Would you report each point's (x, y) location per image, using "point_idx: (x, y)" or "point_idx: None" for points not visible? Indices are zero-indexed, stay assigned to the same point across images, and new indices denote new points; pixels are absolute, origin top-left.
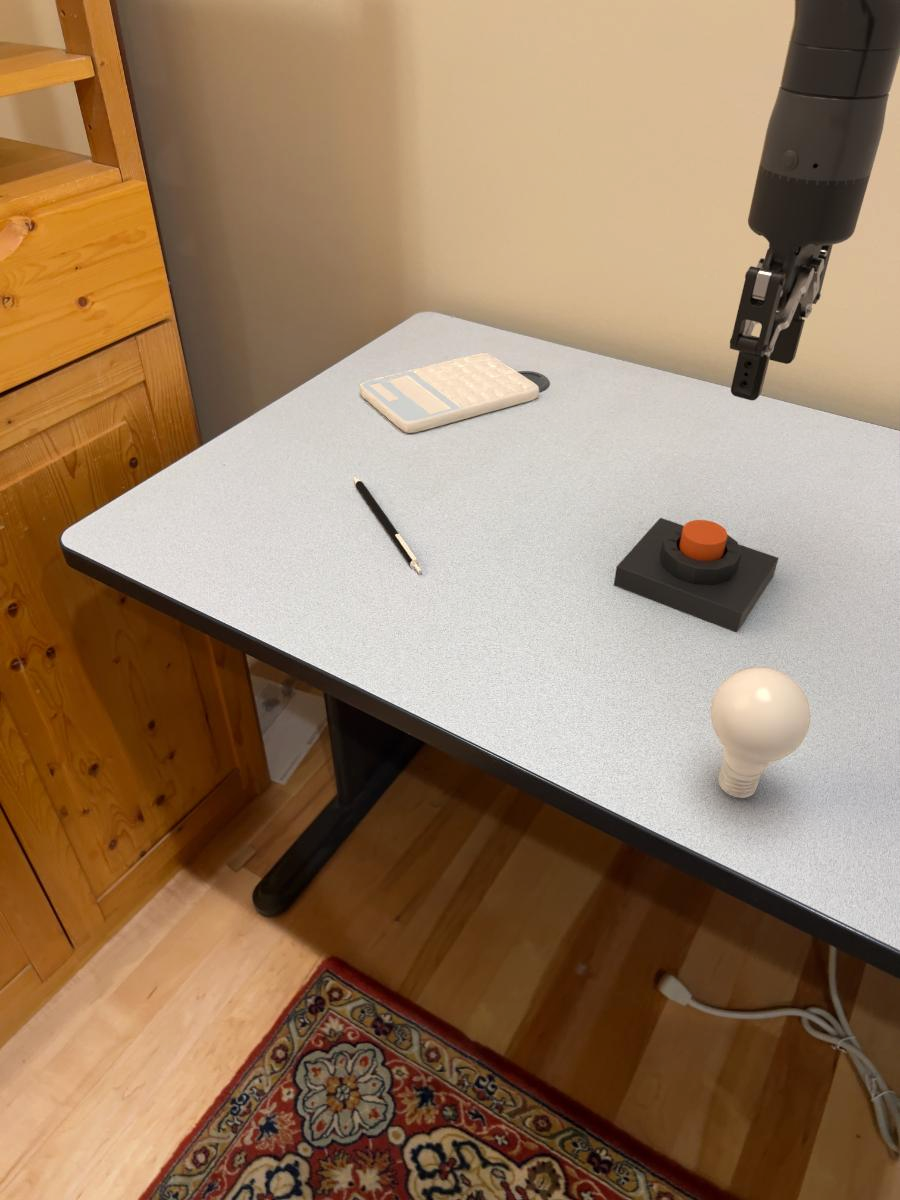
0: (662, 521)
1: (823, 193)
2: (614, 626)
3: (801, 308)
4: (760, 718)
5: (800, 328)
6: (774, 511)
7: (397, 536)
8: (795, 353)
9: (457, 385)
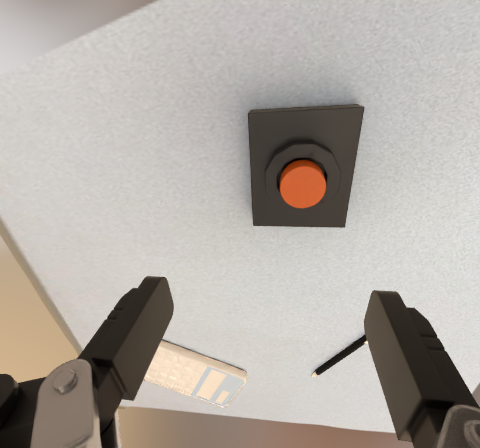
0: (258, 222)
1: None
2: (396, 196)
3: (98, 413)
4: None
5: (122, 343)
6: (152, 149)
7: (367, 343)
8: (144, 286)
9: (186, 375)
